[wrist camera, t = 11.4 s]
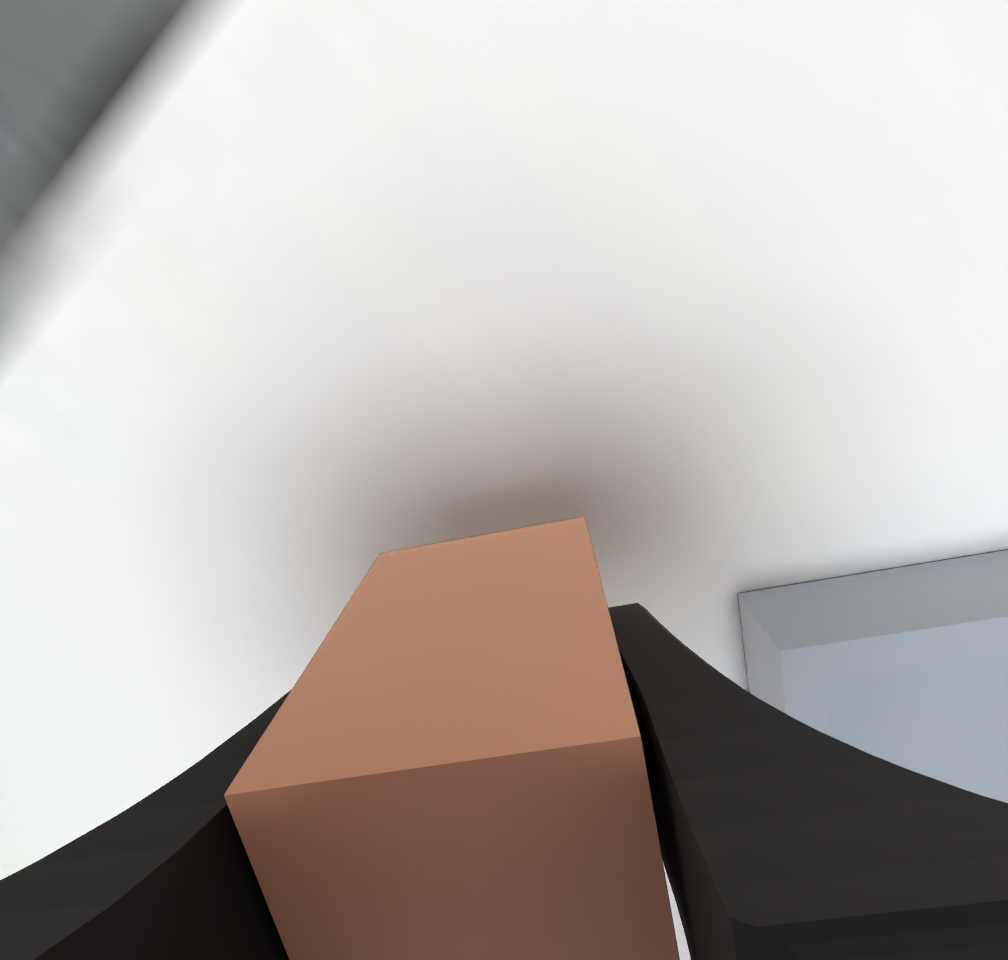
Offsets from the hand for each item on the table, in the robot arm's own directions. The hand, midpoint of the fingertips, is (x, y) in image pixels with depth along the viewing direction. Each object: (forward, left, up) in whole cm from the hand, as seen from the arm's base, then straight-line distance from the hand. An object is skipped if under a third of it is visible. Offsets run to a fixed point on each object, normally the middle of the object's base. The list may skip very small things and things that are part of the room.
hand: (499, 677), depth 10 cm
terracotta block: (0, 0, -2) cm, 2 cm away
